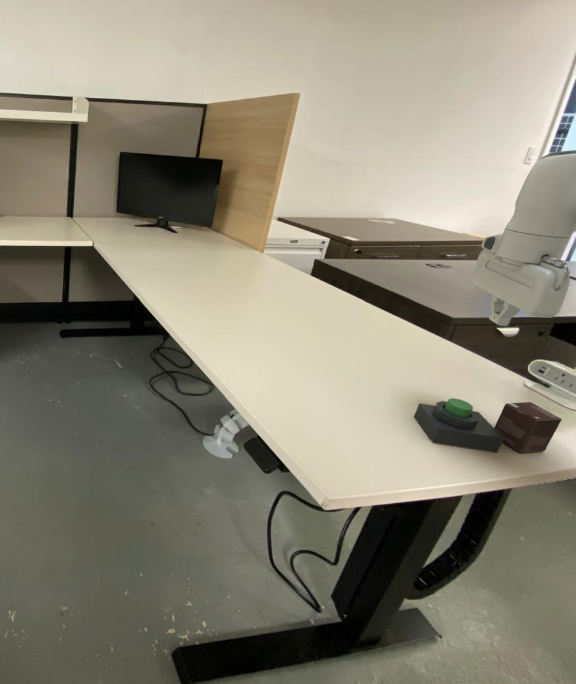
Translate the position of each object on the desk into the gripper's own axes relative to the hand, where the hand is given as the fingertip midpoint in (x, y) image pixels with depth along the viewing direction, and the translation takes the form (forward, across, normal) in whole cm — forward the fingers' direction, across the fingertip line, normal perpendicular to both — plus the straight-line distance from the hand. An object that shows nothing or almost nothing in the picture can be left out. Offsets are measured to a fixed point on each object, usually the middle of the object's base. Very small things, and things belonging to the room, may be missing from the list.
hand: (497, 323), depth 86 cm
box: (+22, -6, -8) cm, 24 cm away
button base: (+21, -6, +3) cm, 22 cm away
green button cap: (+17, -6, +4) cm, 18 cm away
